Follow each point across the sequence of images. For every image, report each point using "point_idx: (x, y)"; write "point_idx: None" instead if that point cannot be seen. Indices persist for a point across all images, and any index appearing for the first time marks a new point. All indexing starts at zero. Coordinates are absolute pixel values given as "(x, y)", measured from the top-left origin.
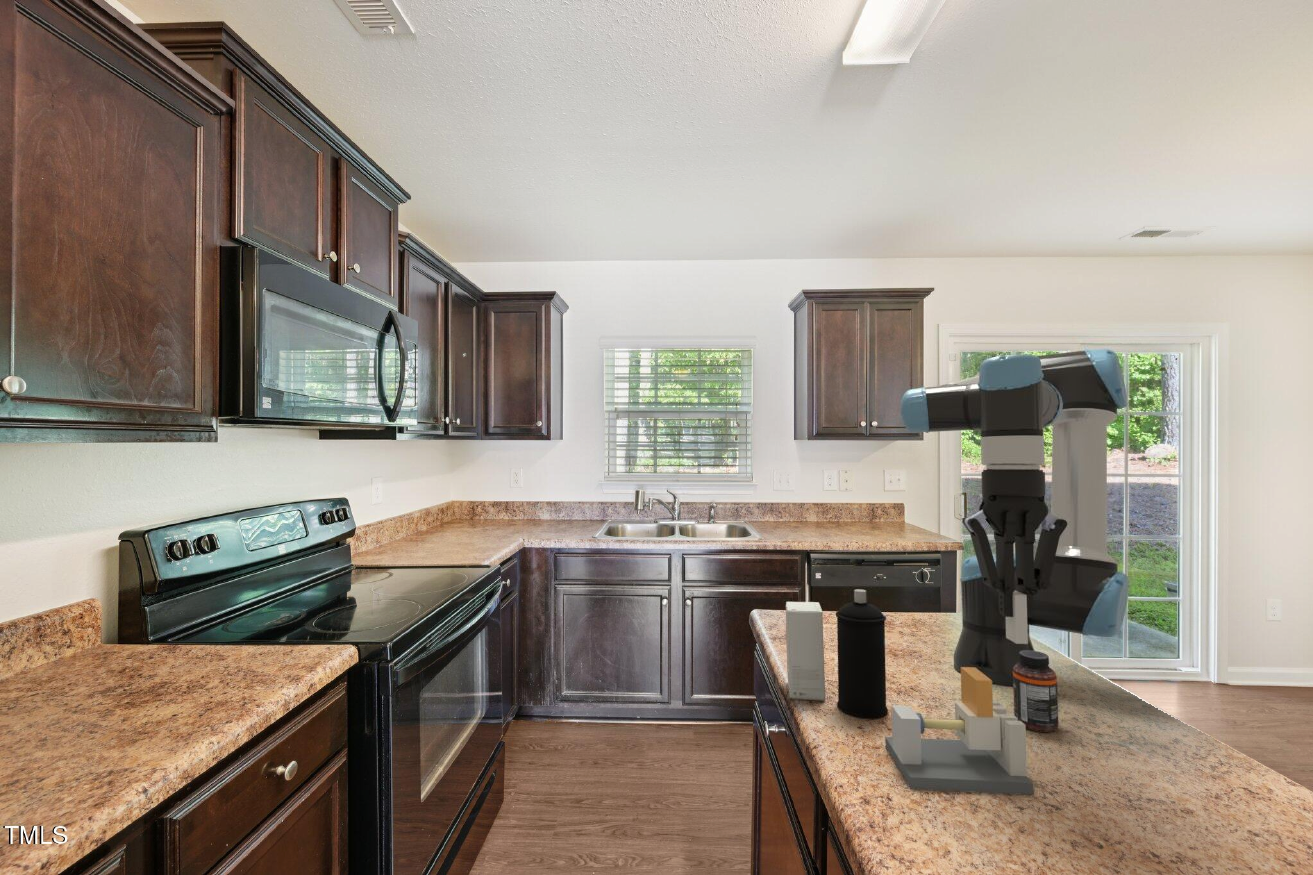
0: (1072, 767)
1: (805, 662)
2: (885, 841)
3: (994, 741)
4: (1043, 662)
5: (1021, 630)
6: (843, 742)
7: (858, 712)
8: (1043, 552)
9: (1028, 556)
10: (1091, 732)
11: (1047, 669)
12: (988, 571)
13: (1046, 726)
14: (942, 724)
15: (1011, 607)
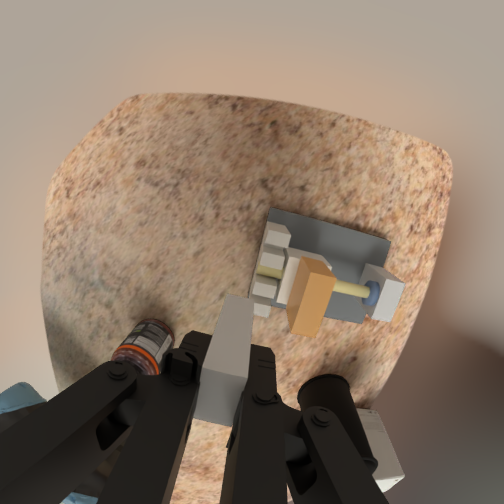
0: (182, 251)
1: (376, 434)
2: (440, 173)
3: (294, 250)
4: None
5: (238, 310)
6: (389, 331)
7: (342, 380)
8: (41, 478)
9: (134, 502)
10: (112, 310)
11: (120, 360)
12: (359, 460)
13: (154, 321)
14: (347, 283)
15: (250, 361)
